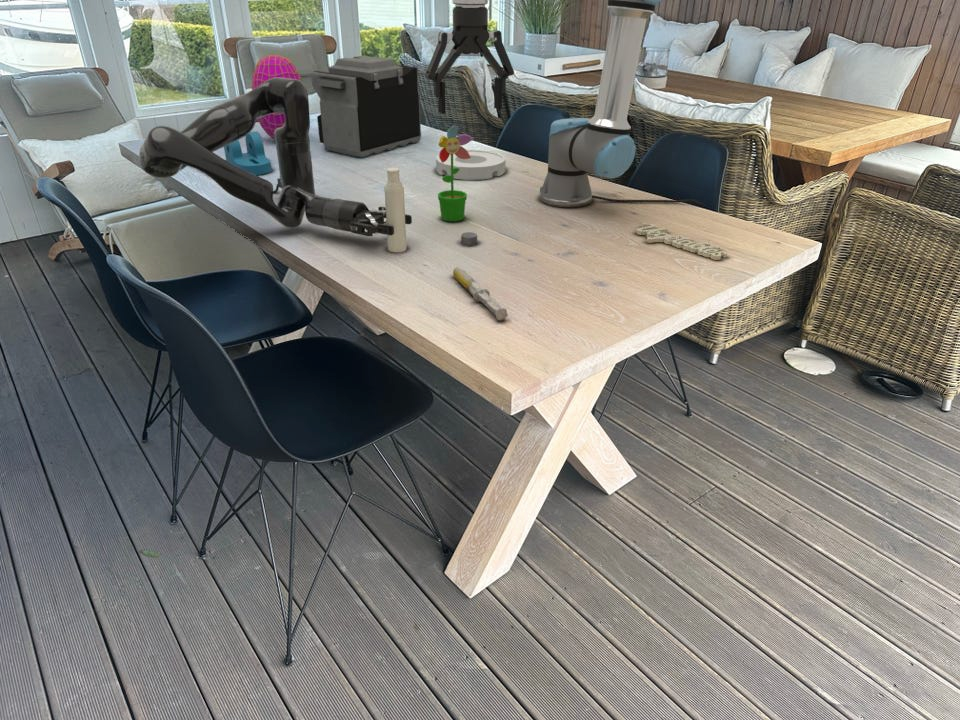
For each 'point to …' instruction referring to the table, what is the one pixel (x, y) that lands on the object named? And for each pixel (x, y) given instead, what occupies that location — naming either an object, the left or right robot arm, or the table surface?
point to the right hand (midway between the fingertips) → (470, 110)
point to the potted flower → (452, 199)
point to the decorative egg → (267, 70)
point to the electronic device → (367, 105)
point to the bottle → (395, 211)
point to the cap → (469, 238)
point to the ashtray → (473, 165)
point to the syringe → (479, 293)
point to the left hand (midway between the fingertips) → (402, 225)
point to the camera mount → (249, 155)
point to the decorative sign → (680, 242)
